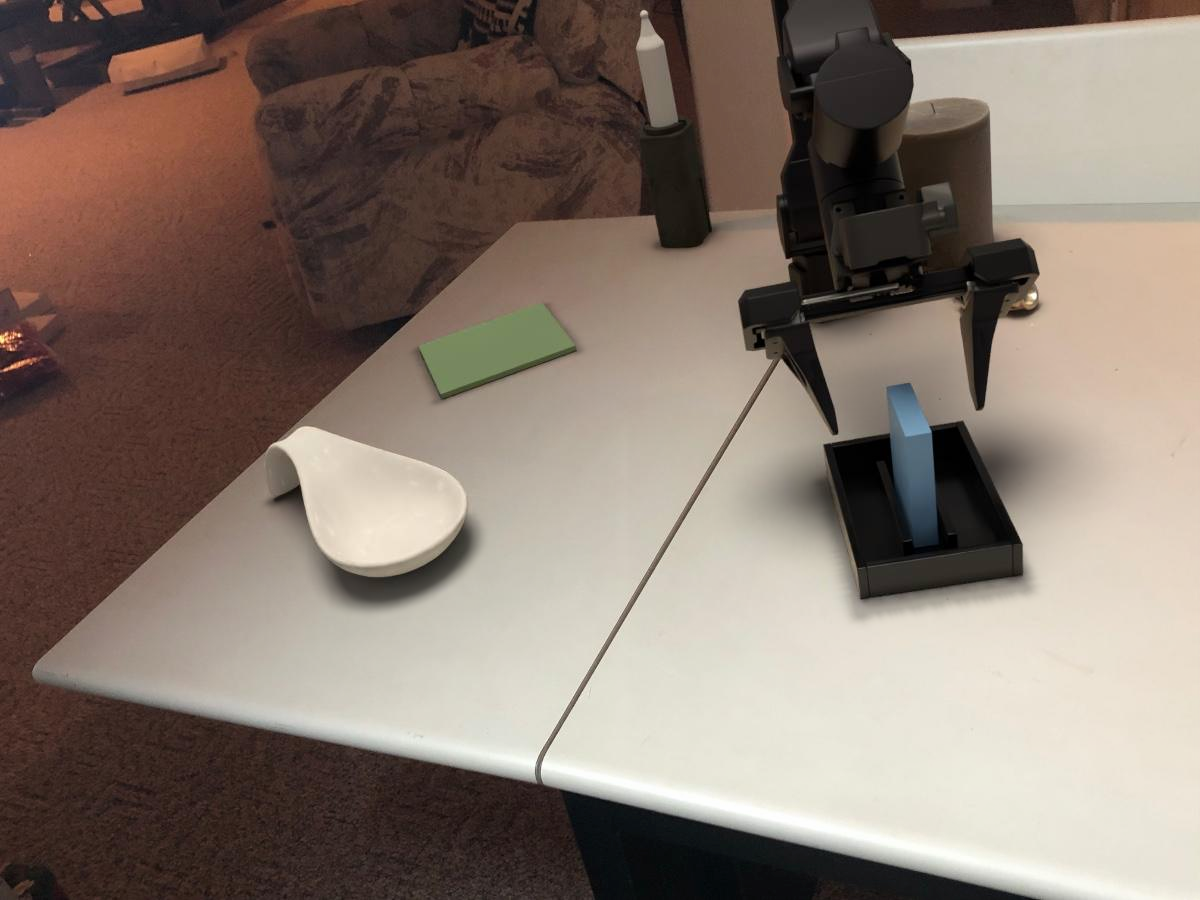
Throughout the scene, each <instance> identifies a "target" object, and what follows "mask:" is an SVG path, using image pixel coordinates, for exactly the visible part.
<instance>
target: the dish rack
mask: <svg viewBox="0 0 1200 900" xmlns="http://www.w3.org/2000/svg"><path fill="white" fill-rule="evenodd" d="M966 425H967V424H965V421H964V420H957V421H952V422H947V423H941V424H936V425H929V427H930V430H931V432H932V446H933V462H934V478H935V495H936V511H937V527H938V544H937V545H931V546H924V547H918V548H914V547H913V542H912V538H911V535H910V532H909V529H908V526H907V524H906V521H905V518H904V515H903V512H902V509H901V506H900V504H899V501H898V498H897V495H896V492H895V486H894V475H893V463H892V452H891V440H890V432H888V433H882V434H876V435H870V436H863V437H858V438H852V439H846V440H841V441H833V442H828V443H823V444H822V448H823V456H824V464H825V470H826V471H825V472H826V475H827V479H828V484H829V486H830V490H831V494H832V498H833V502H834V506H835V509H836V513H837V517H838V520H839V524H840V529H841V532H842V535H843V539H844V543H845V546H846V550H847V554H848V558H849V562H850V566H851V569H852V572H853V577H854V580H855V584H856V588H857V592H858V595H859V600H867V599H868V600H869V599H873V598H881V597H887V596H893V595H894V596H895V595H900V594H907V593H914V592H922V591H928V590H934V589H941V588H948V587H954V586H961V585H968V584H976V583H981V582H988V581H995V580H1001V579H1008V578H1015V577H1022V576H1024V544H1023V541H1022V540H1021V537H1020V535H1019V532H1018V530H1017V529H1016V527H1015V525H1014V523H1013V521H1012V519H1011V516H1010V514H1009V512H1008V510H1007V508H1006V506H1005V504H1004V502H1003V500H1002V497H1001V495H1000V494H999V492H998V489H997V488H996V486H995V483H994V481H993V479H992V477H991V475H990V473H989V470H988V468H987V467H986V465H985V463H984V460H983V458H982V456H981V455H980V452H979V449H978V447H977V445H976V444H975V441H974V439H973V437H972V436H971V434H970V431H969V429H968V427H967V426H966Z"/></svg>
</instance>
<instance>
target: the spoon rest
mask: <svg viewBox="0 0 1200 900" xmlns="http://www.w3.org/2000/svg"><path fill="white" fill-rule="evenodd" d="M264 475H265V481H266V485H267V489H268V491H269V493H270V495H271V496H273V497H279V496H281V495H285V494H287V493H289V492H290V491H292V490H293V489H295V488H297V487H298V486H300V491H301V494H302V499H303V505H304V510H305V515H306V519H307V521H308V522H307V523H308V526H309V528H310V529H309V530H310V531H311V535H312V537H313V540H314V541H315V544H316V545H317V547H318V549H319V550H320V551H321V553H322V554H323V556H325V557H326V558H327V559H328V560H329V561H330V562H332V564H334V565H335V566H336V567H339V568H340V569H342V570H343V571H346V572H348V573H352V574H355V575H359V576H363V577H369V578H386V577H387V578H388V577H394V576H398V575H399V576H400V575H403V574H407V573H409V572H413V571H414V570H417V569H420V568H421V567H423V566H425V565H427V564H428V563H430V562H432V561H433V560H434V559H436V558H438V557H439V556H440V555H441V554H442V553H443V552H444V551H446V550H447V548H449V546H450V545H451V544H452V542H453V541H454V540H455V538H456V537H457V536H458V534H459V533H460V531H461V529H462V527H463V525H464V523H465V520H466V517H467V514H468V511H469V499H468V495H467V493H466V490H465V488H464V486H463V485H462V484H461V482H460V481H459V480H458V479H457V478H456V477H454V475H452V474H450V473H449V472H447V471H445V470H443V469H441V468H439V467H437V466H435V465H433V464H430V463H427V462H424V461H421V460H418V459H414V458H412V457H408V456H404V455H401V454H398V453H394V452H391V451H388V450H385V449H381V448H378V447H375V446H371V445H368V444H365V443H362V442H360V441H359V442H358V441H356V440H352V439H350V438H346V437H344V436H341V435H339V434H335V433H332V432H329V431H326V430H324V429H321V428H318V427H314V426H309V425H308V426H307V425H305V426H301V427H299V428H296V429H295V431H293V433H291V434H290V435H289V436H288V437H286V438H285V439H282V440H279V441H276V442H273V443H272V444H270V445H269V446H268V448H267V450H266V452H265V455H264Z"/></svg>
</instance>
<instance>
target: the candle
mask: <svg viewBox="0 0 1200 900" xmlns="http://www.w3.org/2000/svg"><path fill="white" fill-rule="evenodd" d="M639 17H640V18H641V22H640V23H641V24H640V34H639V35H640V36H639V39H638V41H637V44H636V47H635V50H636V51H635V52H636V55H637V61H638V65H639V70H640V76H641V80H642V85H643V90H644V95H645V101H646V105H647V111H648V116H649V120H648V121H647V122H646V124H644V125H643V131H642V132H641V133H640V134H639V135H638V140H639V145H640V151H641V156H642V161H643V165H644V169H645V175H646V181H647V184H648V189H649V193H650V198H651V199H650V200H651V204H652V209H653V214H654V218H655V219H654V220H655V223H656V224H655V225H656V229H657V232H658V233H657V234H658V239H659V243H660V246H661V247H662V248H694V247H698V246H700V245H701V244H703V243H704V240H705V238H706V237H707V236H708V234H710V233H712V231H713V227H712V221H711V214H710V210H709V203H708V198H707V197H708V196H707V192H706V187H705V181H704V175H703V170H702V163H701V157H700V153H699V148H698V141H697V135H696V130H695V125H694V120H693V119H691V118H686V115H683V114H679V113H678V111H677V106H676V101H675V95H674V90H673V89H674V88H673V84H672V78H671V73H670V67H669V62H668V56H667V52H666V46H665V42H664V39H662V38H661V37H660V36H659V35H658V33H657V32H656V30H655V28H654V27H653V25H652V23H651V20H650V19H649V12H648V11H647V10H645V9H643V10H641V11H640V13H639Z"/></svg>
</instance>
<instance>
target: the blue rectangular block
mask: <svg viewBox="0 0 1200 900" xmlns="http://www.w3.org/2000/svg"><path fill="white" fill-rule="evenodd" d="M885 393H886V404H887V415H888V417H887V418H888V427H889V433H890V440H891V452H892V463H893V475H894V486H895V492H896V495H897V498H898V501H899V504H900V506H901V509H902V512H903V515H904V518H905V521H906V524H907V526H908V529H909V532H910V535H911V538H912V542H913V547H914V548H918V547H924V546H931V545H937V544H938V527H937V511H936V495H935V478H934V462H933V446H932V432H931V430H930V427H929V426H930V425H929V423H928V420H927V418H926V416H925V413H924V411H923V409H922V406H921V404H920V401H919V399H918V397H917V394H916V393H915V390H914V388H913V385H912V383H911V382H905V383H900V384H894V385H893V384H892V385H888V386H885Z"/></svg>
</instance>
